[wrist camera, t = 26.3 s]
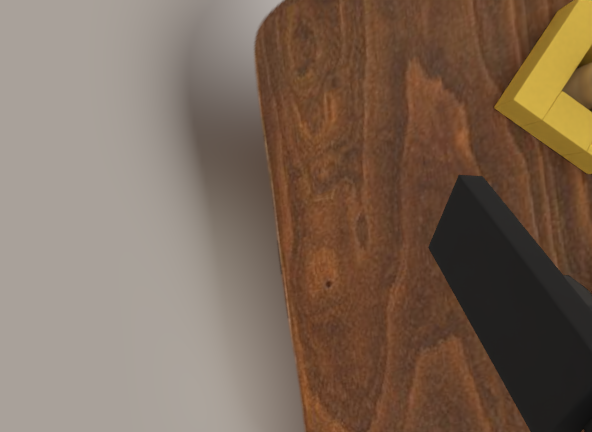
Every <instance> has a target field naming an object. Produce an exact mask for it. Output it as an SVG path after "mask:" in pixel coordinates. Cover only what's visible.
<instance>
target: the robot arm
mask: <svg viewBox="0 0 592 432" xmlns="http://www.w3.org/2000/svg"><path fill="white" fill-rule="evenodd" d="M428 248H429V249H430V251H431V253H432V255H433V257H434V258H435V260H436V262H437V264H438V266H439V267H440V269H441V271H442V273H443V275H444V276H445V278H446V280H447V282H448V284H449V285H450V287H451V289H452V291H453V293H454V294H455V296H456V298H457V300H458V302H459V303H460V305H461V307H462V309H463V311H464V312H465V314H466V316H467V318H468V320H469V321H470V323H471V325H472V327H473V328H474V330H475V332H476V334H477V336H478V337H479V339H480V341H481V343H482V345H483V346H484V348H485V350H486V352H487V354H488V355H489V357H490V359H491V361H492V363H493V364H494V366H495V368H496V370H497V372H498V373H499V375H500V377H501V379H502V381H503V382H504V384H505V386H506V388H507V390H508V391H509V393H510V395H511V397H512V399H513V400H514V402H515V404H516V406H517V408H518V409H519V411H520V413H521V415H522V417H523V418H524V420H525V422H526V424H527V426H528V427H529V429H530V431H531V432H581V431H582V430H583V429H584V431H585V432H592V294H591V293H590V292H589V291H588V290H587V289H586V288H585V287H583V286H582V285H581V284H580V283H578V282H577V281H576V280H574V279H573V278H572V277H570V276H569V275H562V273H561V272H560V271H559V270H558V268H557V267H556V266H555V265H554V264H553V262H552V261H551V260H550V259H549V257H548V256H547V255H546V254H545V252H544V251H543V250H542V249H541V248H540V246H539V245H538V244H537V243H536V241H535V240H534V239H533V238H532V237H531V235H530V234H529V233H528V232H527V230H526V229H525V228H524V227H523V225H522V224H521V223H520V222H519V221H518V219H517V218H516V217H515V216H514V214H513V213H512V212H511V211H510V209H509V208H508V207H507V206H506V205H505V203H504V202H503V201H502V200H501V198H500V197H499V196H498V195H497V194H496V192H495V191H494V190H493V189H492V187H491V186H490V185H489V184H488V182H487V181H486V180H485V179H484V178H483V176H467V175H459V176H458V178H457V181H456V183H455V186H454V188H453V190H452V193H451V195H450V197H449V200H448V202H447V204H446V207H445V209H444V212H443V214H442V216H441V219H440V221H439V223H438V226H437V228H436V231H435V233H434V235H433V238H432V240H431V242H430V245H429V247H428Z"/></svg>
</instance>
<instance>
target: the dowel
mask: <svg viewBox="0 0 592 432" xmlns="http://www.w3.org/2000/svg"><path fill="white" fill-rule="evenodd" d="M562 91H563V92H565V93H566V94H568V95H569V96H570V97H572V98H573V99H574V100H576V101H577V102H579V103H580V104H581V105H583V106H584V107H586V108H587V109H588V110H590V109H592V62H591V63H589V64H586V65H584V66H582V67H579V68H577V69H575V71H574V72H573V74H572V75H571V77H570V78H569V80H568V82H567V83H566V85H565V86H564V88H563V89H562Z"/></svg>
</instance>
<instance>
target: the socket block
mask: <svg viewBox="0 0 592 432" xmlns="http://www.w3.org/2000/svg"><path fill="white" fill-rule="evenodd" d="M591 62H592V0H573V1H572V2H570V3H569V4H567V5H566V6H564V7H563V8H561V9H560V10H558V11H557V13H556V14H555V16H554V17H553V19H552V20H551V22H550V24H549V25H548V27H547V28H546V30H545V31H544V33H543V34H542V36H541V37H540V39H539V40H538V42H537V43H536V45H535V46H534V48H533V49H532V51H531V52H530V54H529V55H528V57H527V58H526V60H525V61H524V63H523V64H522V66H521V67H520V69H519V70H518V72H517V73H516V75H515V76H514V78H513V79H512V81H511V82H510V84H509V85H508V87H507V88H506V90H505V91H504V93H503V94H502V96H501V97H500V99H499V101H498V102H497V104H496V105H495V107H494V108H495V109H496V110H497V111H499V112H500V113H502V114H503V115H504V116H506V117H507V118H509V119H510V120H512V121H513V122H514V123H516V124H517V125H519V126H520V127H521V128H523V129H524V130H526V131H527V132H529V133H530V134H531V135H533V136H534V137H536V138H537V139H538V140H540V141H541V142H543V143H544V144H545V145H547V146H548V147H550V148H551V149H553V150H554V151H555V152H557V153H558V154H560V155H562V157H564V158H565V159H567V160H568V161H570V162H571V163H572V164H574V165H575V166H577V167H578V168H579V169H581V170H582V171H584V172H585V173H586V174H592V110H591V111H590V110H588V109H587V108H586V107H584V106H583V105H581V104H580V103H579V102H577V101H576V100H574V99H573V98H572V97H570V96H569V95H568V94H566V93H565V92H563V91H562V89H563V88H564V86H565V85H566V83H567V82H568V80H569V78H570V77H571V75H572V74H573V72H574V71H575V69H576V68H577V66H579V67H582V66H584V65H586V64H589V63H591Z"/></svg>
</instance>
